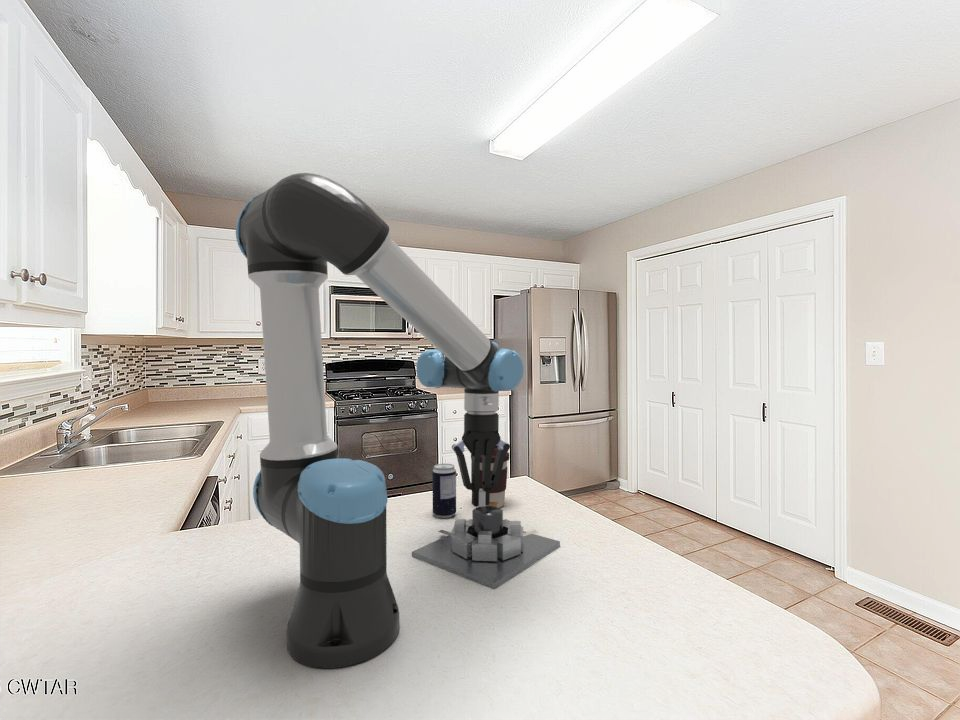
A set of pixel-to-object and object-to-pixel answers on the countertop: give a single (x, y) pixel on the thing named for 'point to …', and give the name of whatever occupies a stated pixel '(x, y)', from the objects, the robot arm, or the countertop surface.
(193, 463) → the countertop surface
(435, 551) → the flange plate
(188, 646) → the countertop surface
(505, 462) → the coffee cup
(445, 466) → the beverage can
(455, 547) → the segmented block ring
